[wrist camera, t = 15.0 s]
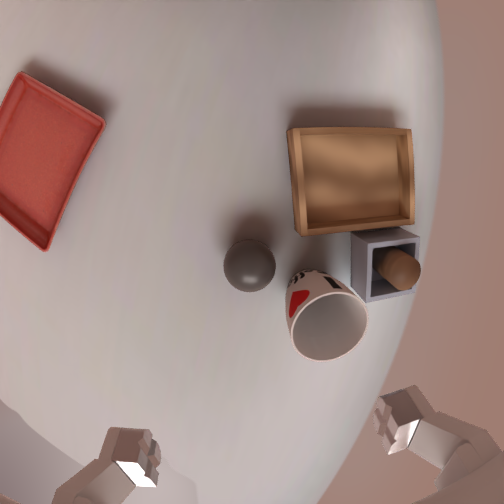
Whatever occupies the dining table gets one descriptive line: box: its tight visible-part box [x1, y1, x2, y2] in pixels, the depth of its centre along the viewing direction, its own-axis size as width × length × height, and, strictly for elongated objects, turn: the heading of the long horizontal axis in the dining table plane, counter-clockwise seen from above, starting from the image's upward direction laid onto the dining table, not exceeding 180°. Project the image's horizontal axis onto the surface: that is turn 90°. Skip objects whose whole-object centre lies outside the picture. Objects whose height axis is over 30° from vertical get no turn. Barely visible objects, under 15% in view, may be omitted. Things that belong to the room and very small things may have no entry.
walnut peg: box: [372, 246, 421, 290], centre depth 33 cm, size 4×4×6 cm
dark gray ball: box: [224, 240, 276, 292], centre depth 33 cm, size 6×6×6 cm
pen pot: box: [351, 227, 420, 303], centre depth 34 cm, size 7×7×5 cm
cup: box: [285, 269, 369, 362], centre depth 33 cm, size 8×8×10 cm
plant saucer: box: [0, 71, 106, 252], centre depth 28 cm, size 18×18×3 cm
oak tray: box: [286, 127, 415, 237], centre depth 32 cm, size 11×14×4 cm
